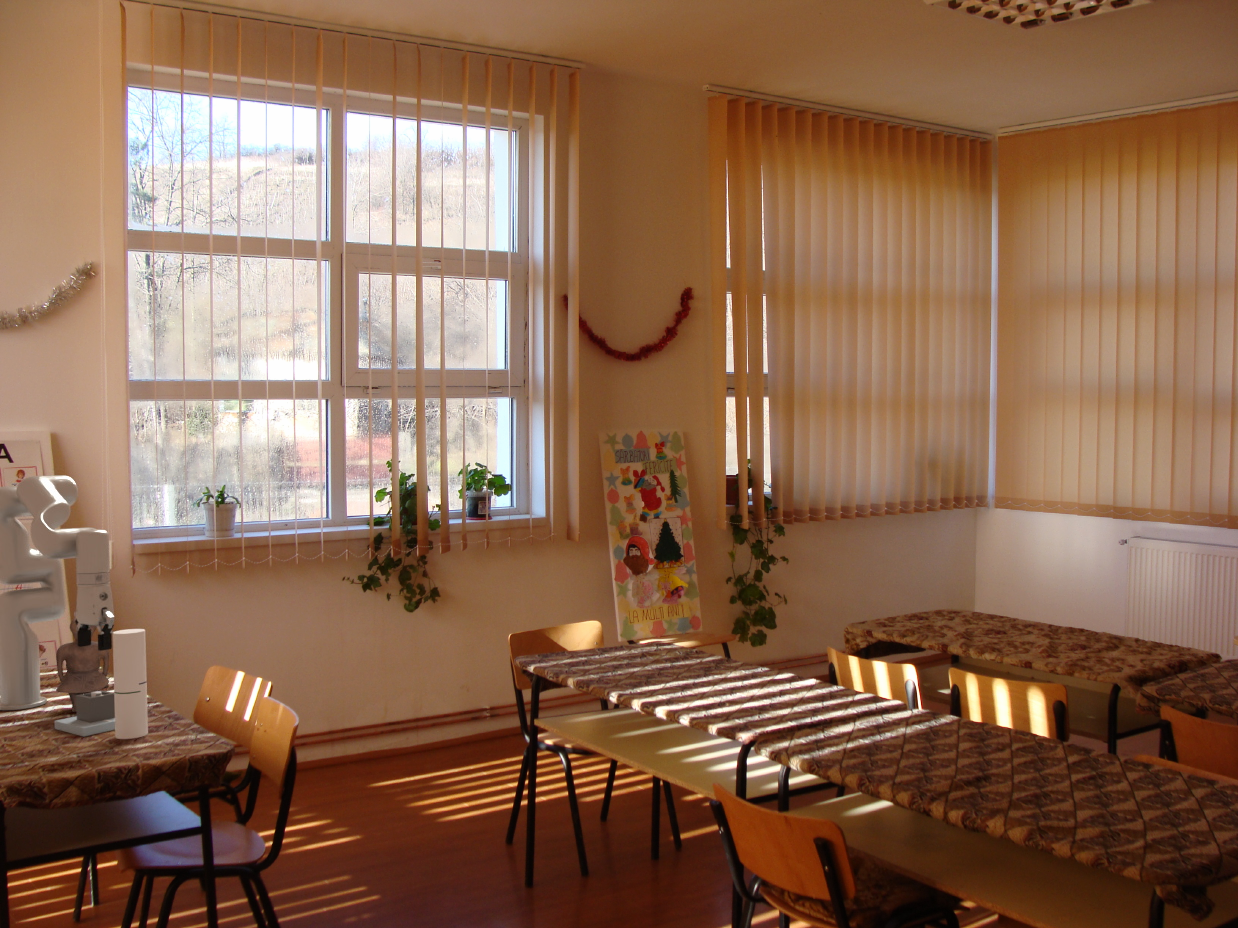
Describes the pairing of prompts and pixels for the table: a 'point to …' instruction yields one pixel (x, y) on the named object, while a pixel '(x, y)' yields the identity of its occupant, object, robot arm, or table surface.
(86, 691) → the clay figurine
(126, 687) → the cylindrical container
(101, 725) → the shaft base
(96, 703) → the square tunnel housing
